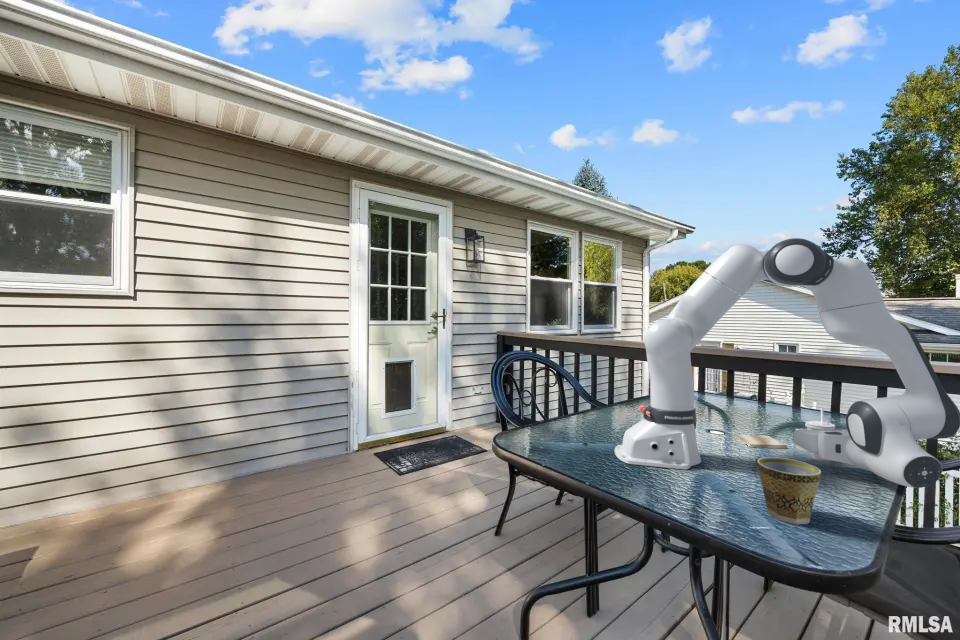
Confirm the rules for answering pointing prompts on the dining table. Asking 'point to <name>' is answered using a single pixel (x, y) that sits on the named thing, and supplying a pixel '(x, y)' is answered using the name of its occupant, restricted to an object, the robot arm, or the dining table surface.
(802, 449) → the letter cube
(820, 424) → the smoothie
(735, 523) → the dining table surface
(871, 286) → the robot arm
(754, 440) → the maple pad
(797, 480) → the ceramic cup
